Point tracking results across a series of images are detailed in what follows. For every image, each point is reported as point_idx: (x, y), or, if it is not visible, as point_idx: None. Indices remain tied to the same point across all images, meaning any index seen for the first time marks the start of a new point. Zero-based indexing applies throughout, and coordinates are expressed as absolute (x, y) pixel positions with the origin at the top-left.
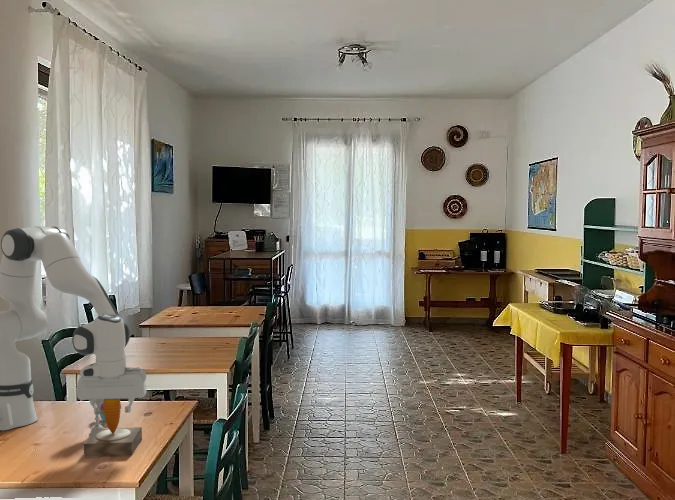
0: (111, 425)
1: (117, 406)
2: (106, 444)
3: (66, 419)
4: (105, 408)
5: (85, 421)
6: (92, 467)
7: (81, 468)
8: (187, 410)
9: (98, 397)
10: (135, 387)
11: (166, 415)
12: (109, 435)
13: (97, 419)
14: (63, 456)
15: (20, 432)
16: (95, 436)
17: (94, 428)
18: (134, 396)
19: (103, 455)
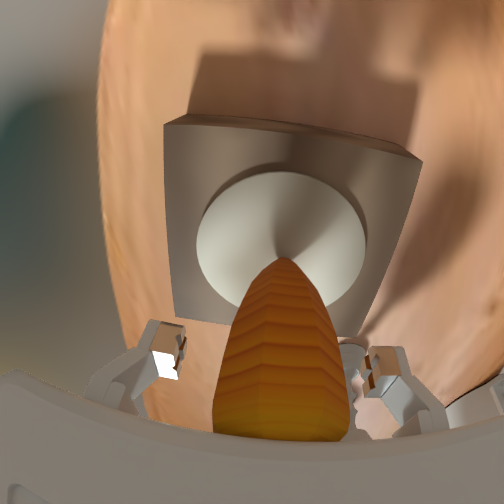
0: (288, 270)
1: (229, 371)
2: (305, 134)
3: None
4: (332, 365)
5: (363, 410)
6: (344, 7)
7: (389, 13)
8: (146, 409)
9: (401, 451)
10: (9, 461)
11: (179, 405)
12: (299, 235)
13: (347, 392)
14: (462, 182)
15: (487, 368)
16: (367, 255)
17: (354, 365)
18: (46, 397)
19: (317, 128)
